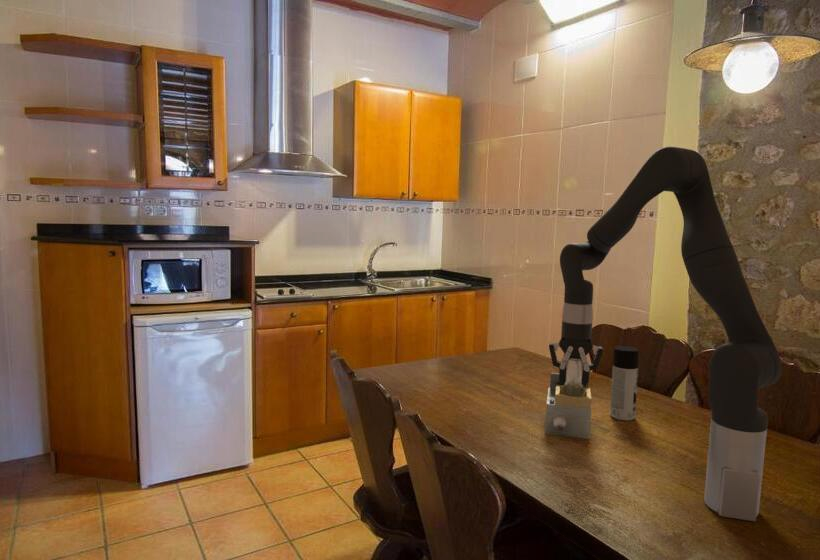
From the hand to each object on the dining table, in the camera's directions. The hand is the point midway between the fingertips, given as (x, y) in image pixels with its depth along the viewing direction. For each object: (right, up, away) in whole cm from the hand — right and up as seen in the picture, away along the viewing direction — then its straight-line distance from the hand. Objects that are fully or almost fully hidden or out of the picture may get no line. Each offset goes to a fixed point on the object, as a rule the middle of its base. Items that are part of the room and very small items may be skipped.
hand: (573, 383), depth 140 cm
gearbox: (-1, -13, +2) cm, 13 cm away
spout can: (0, -2, 0) cm, 2 cm away
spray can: (+17, -12, +11) cm, 24 cm away
